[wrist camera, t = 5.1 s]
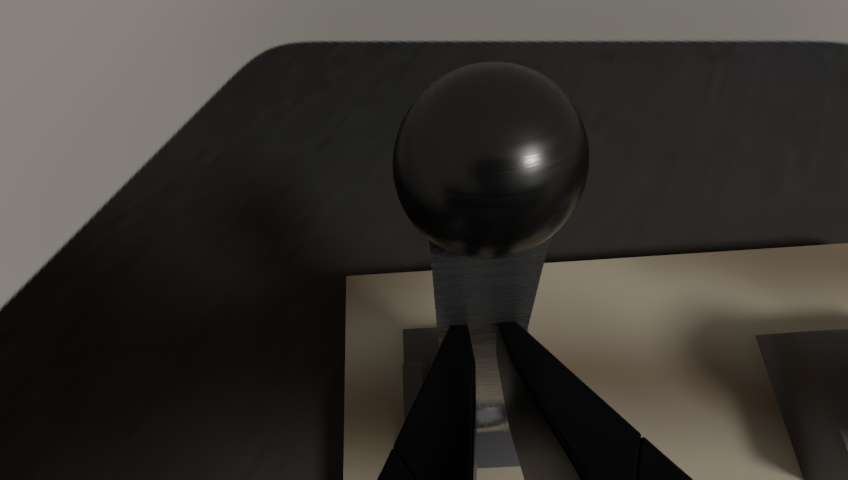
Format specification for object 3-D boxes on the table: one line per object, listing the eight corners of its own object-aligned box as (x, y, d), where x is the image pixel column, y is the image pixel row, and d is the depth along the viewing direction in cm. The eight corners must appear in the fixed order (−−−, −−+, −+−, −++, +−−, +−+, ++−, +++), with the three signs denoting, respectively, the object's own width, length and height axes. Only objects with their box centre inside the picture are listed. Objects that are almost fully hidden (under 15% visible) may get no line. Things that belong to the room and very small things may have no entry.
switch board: (976, 539, 13) (1307, 651, 8) (352, 562, 14) (299, 677, 9) (847, 250, 17) (1021, 203, 12) (354, 282, 17) (317, 251, 12)
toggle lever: (522, 452, 12) (666, 110, 4) (433, 457, 12) (368, 135, 4) (506, 366, 14) (571, 25, 6) (429, 370, 14) (384, 42, 6)
